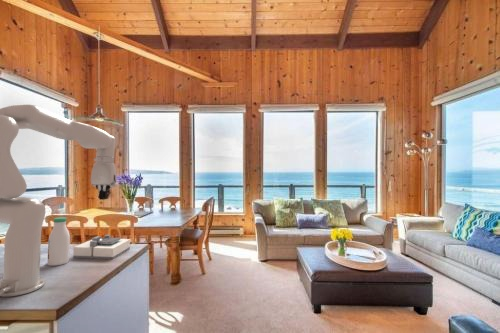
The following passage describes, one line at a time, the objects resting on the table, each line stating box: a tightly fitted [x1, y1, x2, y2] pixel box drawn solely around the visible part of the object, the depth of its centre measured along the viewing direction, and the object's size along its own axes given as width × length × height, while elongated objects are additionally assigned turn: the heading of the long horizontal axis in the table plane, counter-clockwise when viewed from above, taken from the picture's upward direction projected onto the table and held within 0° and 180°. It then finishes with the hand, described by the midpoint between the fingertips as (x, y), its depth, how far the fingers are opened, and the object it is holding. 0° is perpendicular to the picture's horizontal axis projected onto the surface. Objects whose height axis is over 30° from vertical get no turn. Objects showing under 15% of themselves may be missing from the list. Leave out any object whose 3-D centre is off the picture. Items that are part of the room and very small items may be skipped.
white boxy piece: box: [72, 234, 131, 260], centre depth 127 cm, size 16×19×8 cm
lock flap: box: [97, 237, 121, 244], centre depth 127 cm, size 9×9×2 cm
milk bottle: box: [47, 216, 71, 267], centre depth 113 cm, size 8×8×20 cm
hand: (102, 199), depth 121 cm, fingers closed
